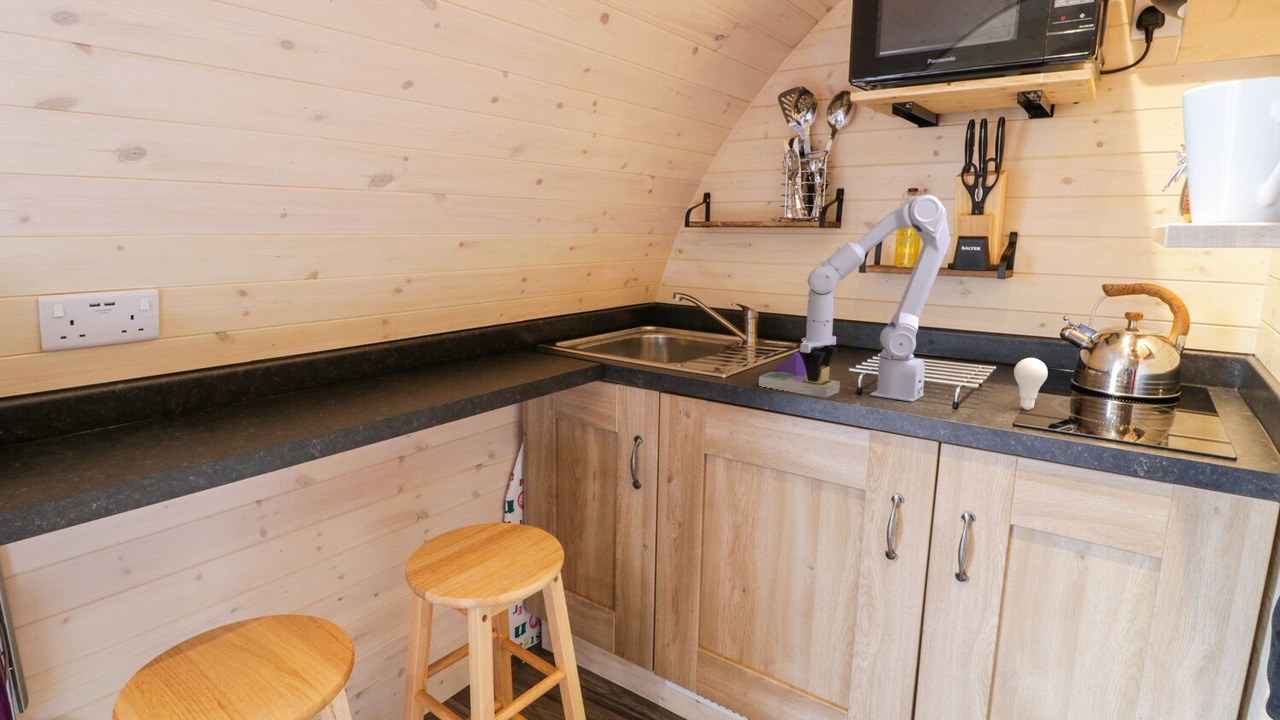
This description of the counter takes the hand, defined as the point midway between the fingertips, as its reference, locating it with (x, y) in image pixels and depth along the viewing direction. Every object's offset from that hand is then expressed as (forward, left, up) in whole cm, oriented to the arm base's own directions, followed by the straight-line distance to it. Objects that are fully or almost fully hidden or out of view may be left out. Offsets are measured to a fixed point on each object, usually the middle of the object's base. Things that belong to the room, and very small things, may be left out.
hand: (816, 379), depth 163 cm
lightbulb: (-41, -13, -3) cm, 43 cm away
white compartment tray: (+5, 0, -3) cm, 5 cm away
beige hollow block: (0, 0, -3) cm, 3 cm away
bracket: (+12, -16, -4) cm, 20 cm away
